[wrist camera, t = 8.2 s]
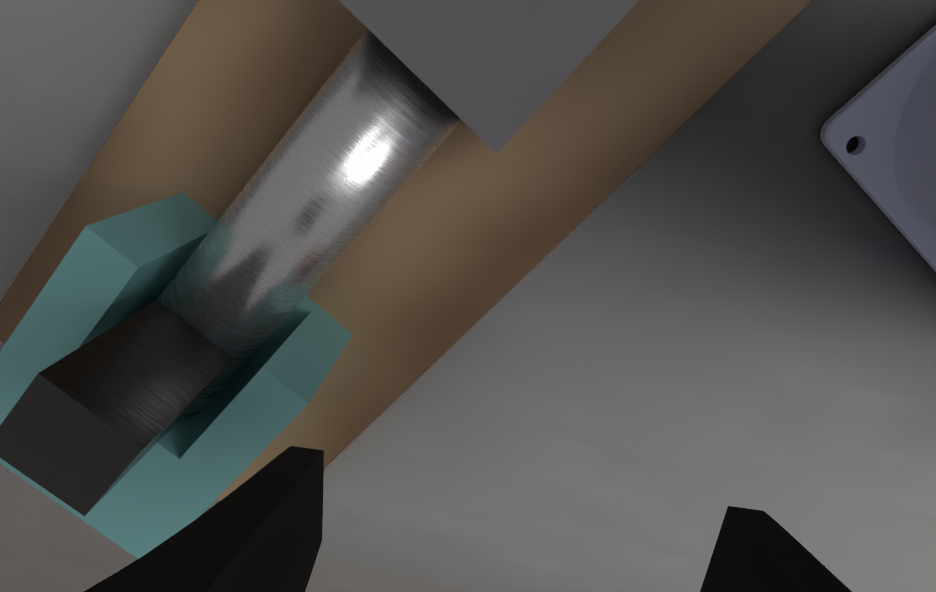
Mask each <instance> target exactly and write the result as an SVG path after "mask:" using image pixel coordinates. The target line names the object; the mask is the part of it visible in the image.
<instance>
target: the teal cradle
mask: <svg viewBox="0 0 936 592" xmlns="http://www.w3.org/2000/svg"><path fill="white" fill-rule="evenodd" d="M216 223H217V220H216V219H215V218H213V217H212V216H211V215H210V214H209V213H208V212H206V211H205V210H204V209H203V208H202V207H200V206H199V205H198V204H197V203H196V202H194V201H193V200H192V199H191V198H190V197H188V196H187V195H186V194H185V193H184V192H182V193H179V194H176V195H173V196H170V197H168V198H165V199H162V200H159V201H156V202H153V203H150V204H147V205H145V206H142V207H139V208H136V209H133V210H130V211H127V212H124V213H121V214H119V215H116V216H113V217H110V218H107V219H104V220H101V221H98V222H96V223H93V224H90V225H87V226H85V228H84V229H83V231H82V232H81V233H80V235H79V236H78V238H77V239H76V241H75V242H74V244H73V245H72V247H71V248H70V250H69V251H68V253H67V254H66V255H65V257H64V258H63V260H62V261H61V263H60V264H59V266H58V267H57V269H56V270H55V272H54V273H53V275H52V276H51V277H50V279H49V280H48V282H47V283H46V285H45V286H44V288H43V289H42V291H41V292H40V294H39V295H38V297H37V298H36V299H35V301H34V302H33V304H32V305H31V307H30V308H29V310H28V311H27V313H26V314H25V316H24V317H23V319H22V320H21V321H20V323H19V324H18V326H17V327H16V329H15V330H14V332H13V333H12V335H11V336H10V338H9V339H8V341H7V342H6V343H5V345H4V346H3V348H2V349H1V351H0V425H1V424H2V422H3V421H4V420H5V418H6V417H7V415H8V414H9V413H10V411H11V410H12V408H13V407H14V406H15V404H16V403H17V402H18V400H19V399H20V397H21V396H22V395H23V393H24V392H25V391H26V389H27V388H28V386H29V385H30V384H31V382H32V381H33V380H34V378H35V377H36V375H37V374H38V373H39V372H41V371H42V370H44V369H46V368H47V367H49V366H50V365H52V364H54V363H55V362H57V361H59V360H60V359H62V358H63V357H65V356H67V355H68V354H70V353H71V352H73V351H75V350H76V349H78V348H79V347H81V346H83V345H84V344H86V343H88V342H89V341H91V340H92V339H94V338H96V337H97V336H99V335H100V334H102V333H104V332H105V331H107V330H109V329H110V328H112V327H113V326H115V325H117V324H118V323H120V322H121V321H123V320H125V319H126V318H128V317H130V316H131V315H133V314H134V313H136V312H138V311H139V310H141V309H142V308H144V307H146V306H147V305H149V304H150V303H152V302H154V301H155V300H157V299H158V297H159V296H160V295H161V294H162V292H163V291H164V290H165V288H166V287H167V286H168V285H169V283H170V282H171V281H172V279H173V278H174V277H175V275H176V274H177V273H178V272H179V270H180V269H181V268H182V266H183V265H184V264H185V263H186V261H187V260H188V259H189V257H190V256H191V255H192V254H193V252H194V251H195V250H196V248H197V247H198V246H199V245H200V243H201V242H202V241H203V239H204V238H205V237H206V236H207V234H208V233H209V232H210V230H211V229H212V228H213V226H214V225H215V224H216ZM351 337H352V334H351V333H350V332H349V331H348V330H347V329H345V328H344V327H343V326H342V325H341V324H339V323H338V322H337V321H336V320H335V319H333V318H332V317H331V316H330V315H329V314H328V313H326V312H325V311H324V310H323V309H322V308H320V307H319V306H318V305H317V304H316V303H314V302H313V301H312V300H311V299H310V298H308V297H307V296H306V297H305V298H304V299H303V300H302V301H301V303H300V304H299V305H298V306H297V307H296V308H295V309H294V310H293V312H292V313H291V314H290V315H289V316H288V317H287V318H286V319H285V321H284V322H283V323H282V324H281V325H280V326H279V327H278V328H277V330H276V331H275V332H274V333H273V334H272V335H271V336H270V337H269V339H268V340H267V341H266V342H265V343H264V344H263V345H262V346H261V348H260V349H259V350H258V351H257V352H256V353H255V354H254V355H253V357H252V358H251V359H250V360H249V361H248V362H247V363H246V364H245V366H244V367H243V368H242V369H241V370H240V371H239V372H238V373H237V374H236V376H235V377H234V378H233V379H232V380H231V381H230V382H229V383H228V385H227V386H226V387H225V388H224V389H223V390H222V391H221V392H220V394H219V395H218V396H217V397H216V398H215V399H214V400H213V401H212V403H211V404H210V405H209V406H208V407H207V408H206V409H205V410H204V411H203V412H202V413H201V414H200V415H198V416H197V417H194V418H192V419H188V420H182V421H178V422H177V423H176V424H175V425H174V426H173V427H172V428H171V429H170V430H169V431H168V432H167V433H166V434H165V435H164V436H163V437H162V438H161V439H160V440H159V441H158V442H157V443H156V444H155V445H154V446H153V447H152V448H151V449H150V450H149V451H148V452H147V453H146V454H145V455H144V456H143V457H142V458H141V459H140V461H139V462H138V463H137V464H136V465H135V466H134V467H133V468H132V469H131V470H130V471H129V472H128V473H127V474H126V475H125V476H124V477H123V478H122V479H121V480H120V481H119V482H118V483H117V484H116V485H115V486H114V487H113V488H112V489H111V490H110V491H109V492H108V493H107V494H106V495H105V496H104V497H103V498H102V499H101V500H100V501H99V502H98V503H97V504H96V505H95V506H94V507H93V508H92V509H91V510H90V511H89V512H88V513H87V514H86V515H85V516H83V515H82V514H80V513H79V512H77V511H76V510H74V509H73V508H72V507H70V506H69V505H67V504H66V503H64V502H63V501H61V500H60V499H59V498H57V497H56V496H54V495H53V494H51V493H50V492H48V491H47V490H46V489H44V488H43V487H41V486H40V485H38V484H37V483H35V482H34V481H33V480H31V479H30V478H28V477H27V476H25V475H24V474H22V473H21V472H20V471H18V470H17V469H15V468H14V467H12V466H11V465H9V464H8V463H7V462H5V461H4V460H2V459H1V458H0V464H1V465H3V466H4V467H6V468H7V469H9V470H10V471H11V472H13V473H14V474H16V475H17V476H19V477H20V478H22V479H23V480H24V481H26V482H27V483H29V484H30V485H32V486H33V487H35V488H36V489H38V490H39V491H40V492H42V493H43V494H45V495H46V496H48V497H49V498H51V499H52V500H53V501H55V502H56V503H58V504H59V505H61V506H62V507H64V508H65V509H66V510H68V511H69V512H71V513H72V514H74V515H75V516H77V517H78V518H80V519H81V520H82V521H84V522H85V523H87V524H88V525H90V526H91V527H93V528H94V529H95V530H97V531H98V532H100V533H101V534H103V535H104V536H106V537H107V538H108V539H110V540H111V541H113V542H114V543H116V544H117V545H119V546H120V547H121V548H123V549H124V550H126V551H127V552H129V553H130V554H132V555H133V556H135V557H136V558H137V559H139V558H141V557H142V556H144V555H145V554H147V553H148V552H150V551H151V550H152V549H154V548H155V547H157V546H158V545H160V544H161V543H163V542H164V541H165V540H167V539H168V538H170V537H171V536H173V535H174V534H176V533H177V532H178V531H180V530H181V529H183V528H184V527H186V526H187V525H189V524H190V523H191V522H193V521H194V520H196V519H197V518H198V517H199V516H200V515H201V514H202V513H203V512H204V511H205V510H206V509H207V508H208V507H209V506H210V505H211V504H212V503H213V502H214V501H215V500H216V499H217V498H218V497H219V496H220V495H221V494H222V493H223V492H224V490H225V489H226V488H227V487H228V486H229V485H230V484H231V483H232V482H233V481H234V480H235V479H236V478H237V477H238V476H239V475H240V474H241V473H242V472H243V471H244V470H245V469H246V468H247V467H248V466H249V465H250V464H251V463H252V462H253V461H254V460H255V459H256V458H257V457H258V456H259V454H260V453H261V452H262V451H263V450H264V449H265V448H266V447H267V446H268V445H269V444H270V443H271V442H272V441H273V440H274V439H275V438H276V437H277V436H278V435H279V434H280V433H281V432H282V431H283V430H284V429H285V428H286V427H287V426H288V425H289V424H290V423H291V422H292V421H293V419H294V418H295V417H296V416H297V415H298V414H299V413H300V412H301V411H302V410H303V409H304V408H305V407H306V406H307V405H308V404H309V402H310V401H311V399H312V398H313V396H314V395H315V393H316V391H317V390H318V388H319V387H320V385H321V384H322V382H323V381H324V379H325V377H326V376H327V374H328V373H329V371H330V370H331V368H332V366H333V365H334V363H335V362H336V360H337V359H338V357H339V355H340V354H341V352H342V351H343V349H344V348H345V346H346V344H347V343H348V341H349V340H350V338H351Z"/></svg>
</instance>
